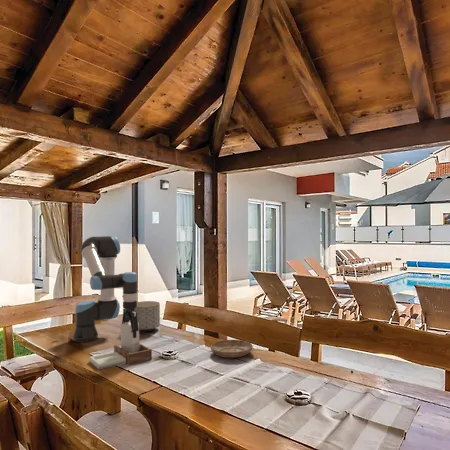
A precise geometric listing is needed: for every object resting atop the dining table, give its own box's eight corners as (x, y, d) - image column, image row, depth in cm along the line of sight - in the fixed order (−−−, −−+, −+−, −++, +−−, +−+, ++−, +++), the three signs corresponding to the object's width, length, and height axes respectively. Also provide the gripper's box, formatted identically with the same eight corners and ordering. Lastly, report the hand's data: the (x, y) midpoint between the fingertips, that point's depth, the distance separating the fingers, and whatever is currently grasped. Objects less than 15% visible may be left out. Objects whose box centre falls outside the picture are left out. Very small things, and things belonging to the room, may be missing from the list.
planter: (157, 334, 250) (156, 306, 250) (128, 334, 251) (128, 306, 251) (162, 326, 269) (162, 300, 269) (135, 326, 270) (135, 301, 270)
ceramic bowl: (258, 350, 215) (258, 341, 215) (243, 364, 194) (243, 354, 194) (221, 345, 225) (221, 337, 225) (203, 358, 204) (203, 348, 204)
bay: (114, 354, 211) (114, 345, 211) (136, 349, 218) (136, 340, 218) (128, 364, 195) (128, 354, 195) (151, 358, 202) (151, 349, 202)
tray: (89, 361, 199) (89, 356, 199) (115, 356, 207) (115, 351, 207) (98, 369, 187) (98, 364, 187) (126, 363, 196) (125, 358, 196)
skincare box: (139, 350, 211) (139, 322, 211) (133, 354, 205) (133, 325, 205) (126, 348, 214) (126, 321, 214) (120, 352, 208) (120, 323, 207)
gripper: (115, 298, 216) (115, 337, 216) (131, 304, 198) (131, 347, 198) (128, 296, 220) (128, 335, 220) (145, 303, 202) (145, 344, 203)
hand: (130, 341), depth 209 cm, fingers closed on skincare box, 10 cm apart
